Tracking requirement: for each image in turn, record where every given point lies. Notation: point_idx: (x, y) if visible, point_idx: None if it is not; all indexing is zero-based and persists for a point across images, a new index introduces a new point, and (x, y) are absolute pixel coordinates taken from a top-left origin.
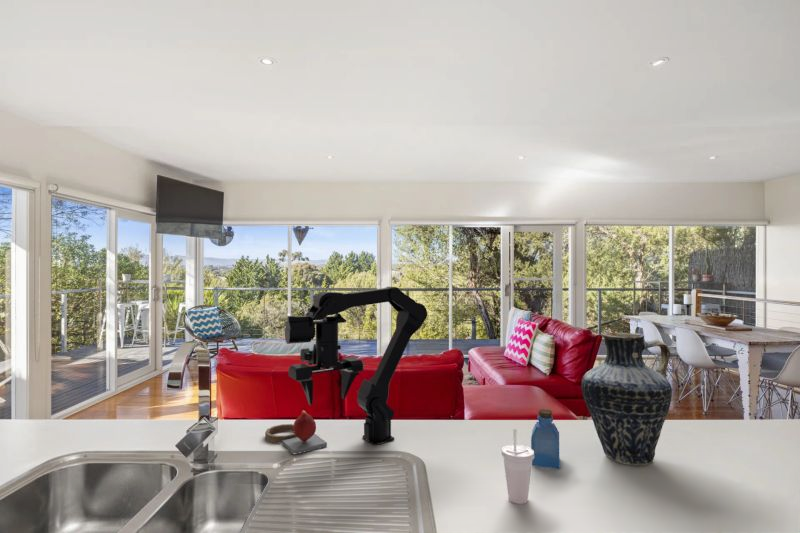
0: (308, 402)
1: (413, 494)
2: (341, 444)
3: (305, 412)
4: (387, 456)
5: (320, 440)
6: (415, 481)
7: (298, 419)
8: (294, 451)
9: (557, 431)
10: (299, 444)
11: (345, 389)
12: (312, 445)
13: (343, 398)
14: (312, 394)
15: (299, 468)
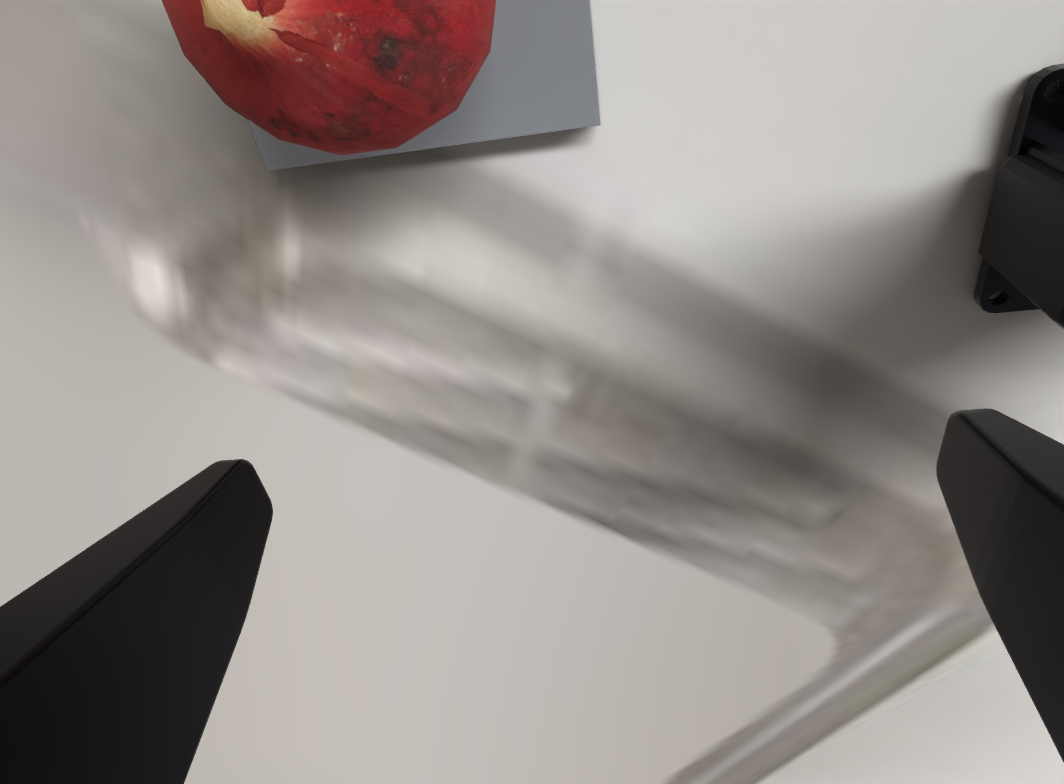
0: (194, 485)
1: (724, 751)
2: (745, 133)
3: (262, 27)
4: (896, 490)
5: (557, 31)
6: (802, 707)
7: (185, 41)
8: (277, 168)
9: None
10: None
11: (1050, 710)
12: (447, 132)
13: (938, 480)
14: (184, 757)
15: (316, 396)
